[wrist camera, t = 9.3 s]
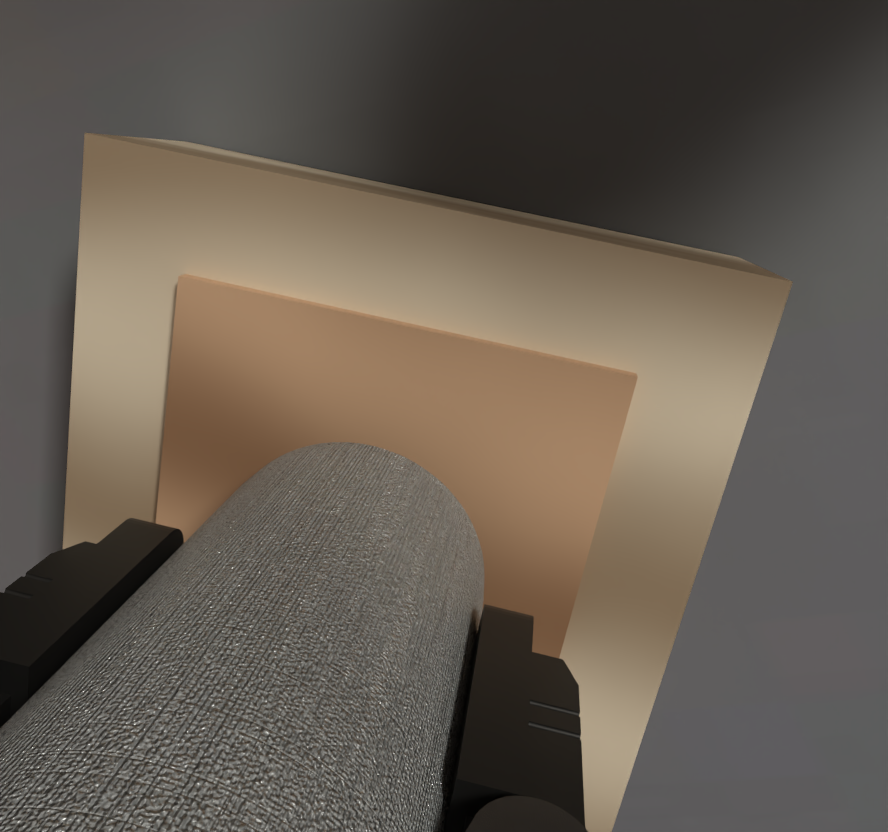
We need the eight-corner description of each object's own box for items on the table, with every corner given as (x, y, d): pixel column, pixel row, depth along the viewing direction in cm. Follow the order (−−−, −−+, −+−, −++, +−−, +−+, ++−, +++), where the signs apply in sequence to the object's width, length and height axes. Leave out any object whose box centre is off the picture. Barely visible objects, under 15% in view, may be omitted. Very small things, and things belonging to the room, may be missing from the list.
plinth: (186, 141, 17) (74, 132, 13) (738, 257, 17) (798, 284, 13) (143, 615, 21) (45, 721, 17) (594, 728, 20) (604, 867, 16)
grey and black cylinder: (274, 701, 15) (-294, 1782, 5) (184, 473, 13) (-798, 1277, 4) (517, 658, 14) (425, 1883, 4) (442, 408, 13) (49, 1248, 3)
